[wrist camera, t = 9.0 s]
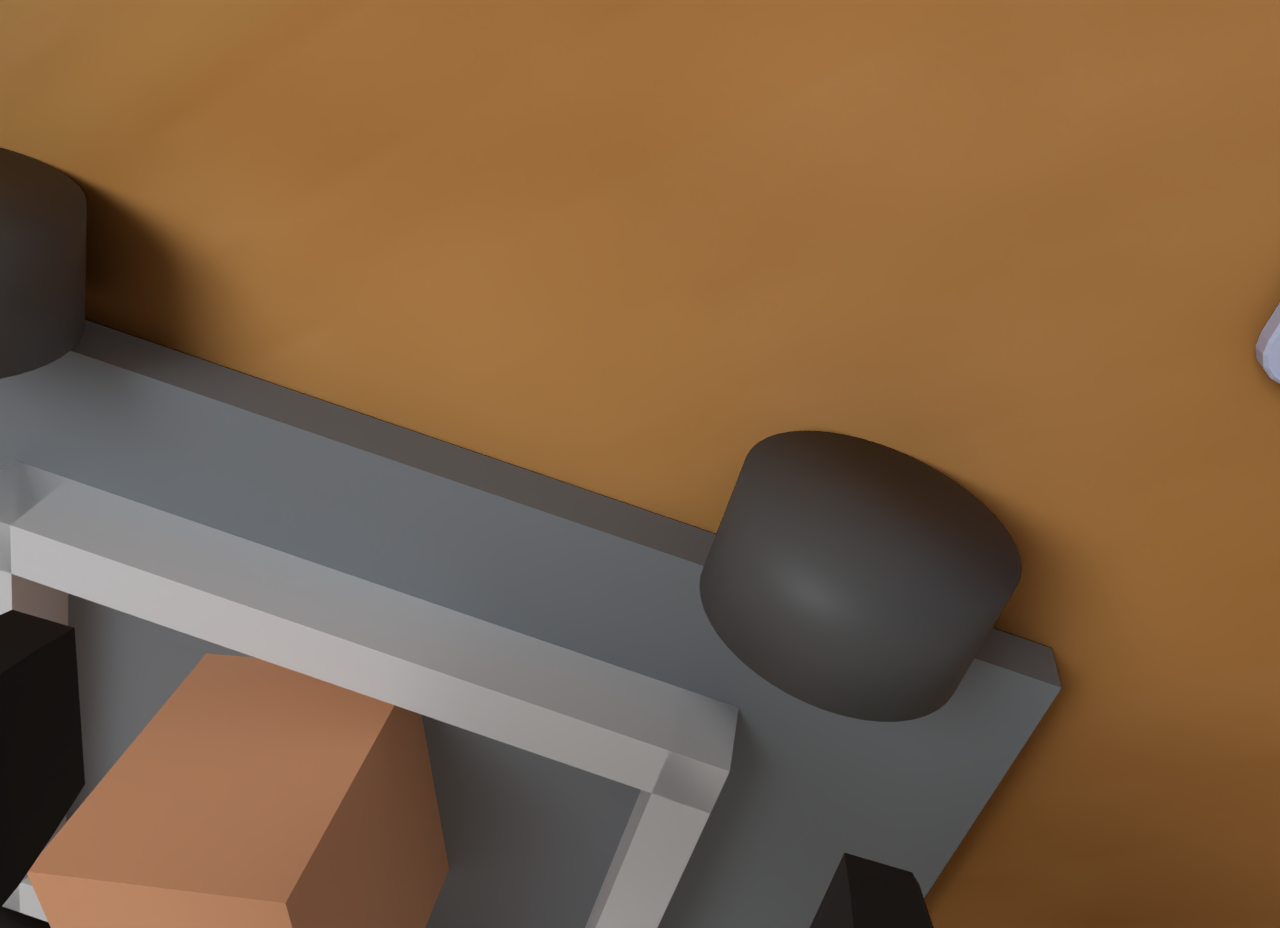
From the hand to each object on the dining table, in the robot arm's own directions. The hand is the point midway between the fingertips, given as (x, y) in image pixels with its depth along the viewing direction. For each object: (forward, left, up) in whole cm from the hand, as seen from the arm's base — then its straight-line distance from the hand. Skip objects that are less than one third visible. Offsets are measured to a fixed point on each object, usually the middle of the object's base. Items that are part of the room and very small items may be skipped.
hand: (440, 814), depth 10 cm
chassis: (+3, +9, -8) cm, 13 cm away
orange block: (+3, +9, -7) cm, 12 cm away
